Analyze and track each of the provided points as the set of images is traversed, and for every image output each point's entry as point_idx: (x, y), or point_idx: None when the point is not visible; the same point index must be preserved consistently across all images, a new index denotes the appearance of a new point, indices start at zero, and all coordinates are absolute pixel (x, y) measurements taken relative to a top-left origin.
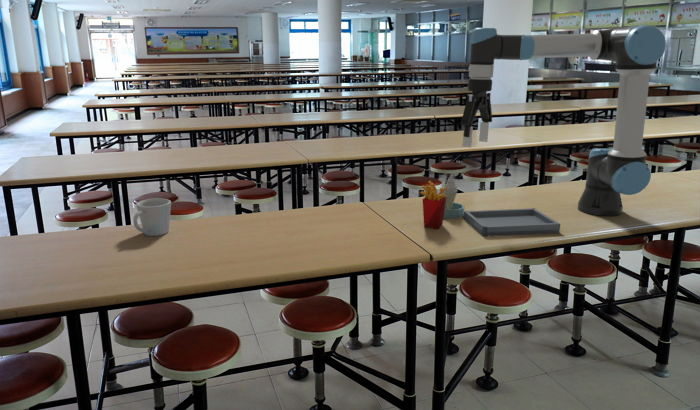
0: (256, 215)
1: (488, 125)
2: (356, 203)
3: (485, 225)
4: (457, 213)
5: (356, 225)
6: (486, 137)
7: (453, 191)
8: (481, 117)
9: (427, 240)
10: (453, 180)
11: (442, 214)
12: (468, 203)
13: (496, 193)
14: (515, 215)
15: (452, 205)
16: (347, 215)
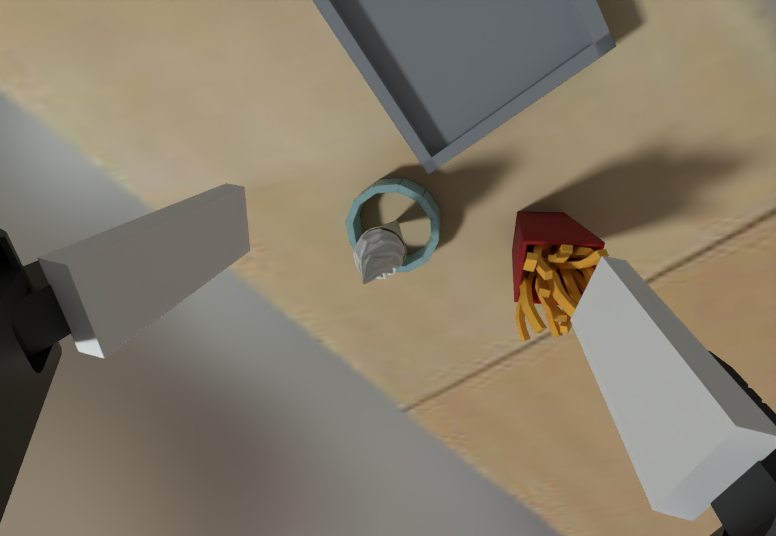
0: (578, 532)
1: (89, 242)
2: (418, 419)
3: (510, 68)
4: (424, 193)
5: (591, 390)
6: (217, 202)
7: (393, 239)
8: (37, 404)
9: (691, 213)
10: (371, 260)
11: (540, 223)
12: (265, 195)
13: (115, 143)
14: None
15: (356, 226)
16: (517, 418)
